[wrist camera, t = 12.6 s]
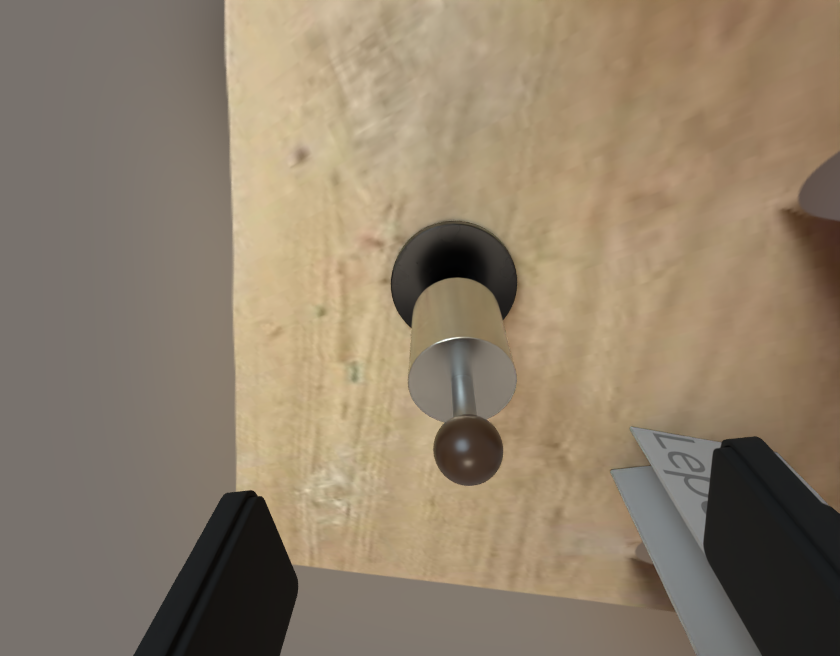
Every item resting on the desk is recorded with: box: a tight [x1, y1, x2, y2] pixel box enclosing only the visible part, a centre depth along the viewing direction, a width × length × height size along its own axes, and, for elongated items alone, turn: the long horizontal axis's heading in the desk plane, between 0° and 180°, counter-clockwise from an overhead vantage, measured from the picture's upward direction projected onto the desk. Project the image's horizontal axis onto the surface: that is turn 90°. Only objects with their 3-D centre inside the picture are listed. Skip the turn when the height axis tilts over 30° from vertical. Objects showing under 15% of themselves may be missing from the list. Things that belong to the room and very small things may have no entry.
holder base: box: [391, 221, 517, 328], centre depth 36 cm, size 10×10×5 cm
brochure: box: [610, 427, 829, 656], centre depth 32 cm, size 14×6×30 cm, turn 80°
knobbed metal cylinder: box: [408, 278, 517, 486], centre depth 28 cm, size 17×6×6 cm
